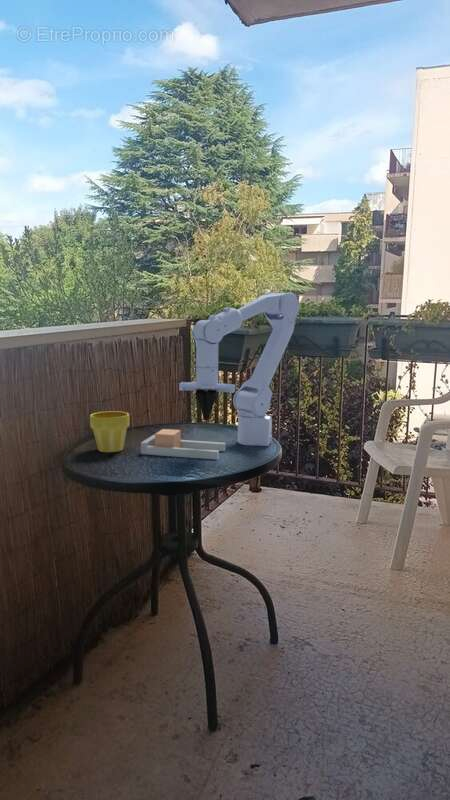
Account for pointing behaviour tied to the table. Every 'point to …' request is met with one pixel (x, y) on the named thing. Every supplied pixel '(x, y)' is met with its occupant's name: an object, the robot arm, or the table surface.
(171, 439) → the block
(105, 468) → the table surface
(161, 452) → the chute
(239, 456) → the table surface
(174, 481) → the table surface
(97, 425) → the plant pot
